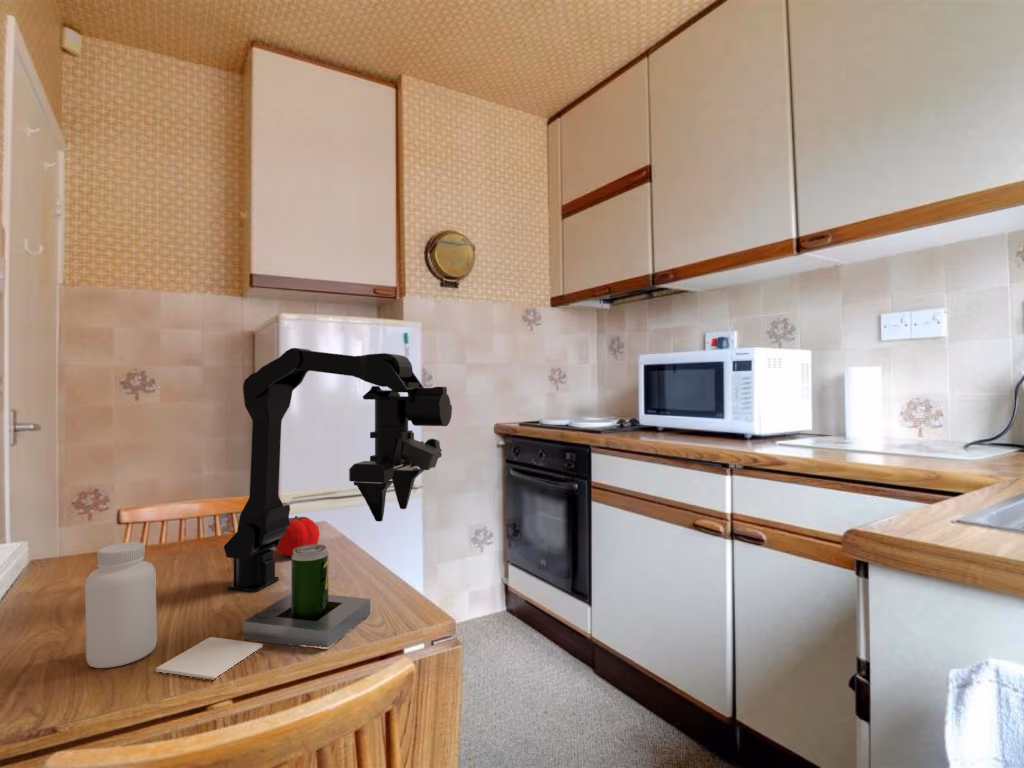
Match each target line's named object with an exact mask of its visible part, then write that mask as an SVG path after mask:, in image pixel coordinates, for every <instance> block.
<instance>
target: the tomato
mask: <svg viewBox="0 0 1024 768" xmlns="http://www.w3.org/2000/svg"><path fill="white" fill-rule="evenodd" d="M289 522H290V526H287V530H286V533H285V534H284V535H283V536H282V537H281V540H280V543H279V546H277V547H274V548H275V550H277V551H278V552H279V553H280V555H283V556H286V557H290V558H291V557H292V555H293V550H294V549H295V548H297V547H300V546H304V545H311V544H318V543H319V540H320V539H319V538H320V535H321V534H320V529H319V526H318V525H317V524H316V522H315V521H314V520H313V519H310V517H307V516H298V515H294V517H289Z"/></svg>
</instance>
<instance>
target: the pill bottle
mask: <svg viewBox="0 0 1024 768" xmlns="http://www.w3.org/2000/svg"><path fill="white" fill-rule="evenodd" d="M145 545H146V544H145V543H143V542H140V541H131V542H130V541H127V542H120V543H116V544H110V545H107V546H103V547H101V548H100V549H98V551H97V552H96V553H97V556H96V557H97V564H96V566H97V567H98V568H96V569H94V570H93V571H91V573H90V574H88V576H87V578H86V580H85V583H84V588H85V589H84V591H85V593H84V596H85V601H84V602H85V607H84V608H85V656H86V662H87V665H88V666H90V667H91V668H95V669H108V668H116V667H120V666H121V667H122V666H124V665H129V664H130V663H134V662H136V661H138V660H140V659H142V658H146V657H147V656H149V654H151V653H152V652H153V651H154V650H155V649H156V646H157V641H158V640H157V638H158V636H157V635H158V634H157V633H158V630H157V577H156V576H157V573H156V572H157V571H156V568H155V566H154V564H152V563H151V562H150V561H147V560H144V559H145V554H146V553H145V552H146V551H145V549H146V546H145Z"/></svg>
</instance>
